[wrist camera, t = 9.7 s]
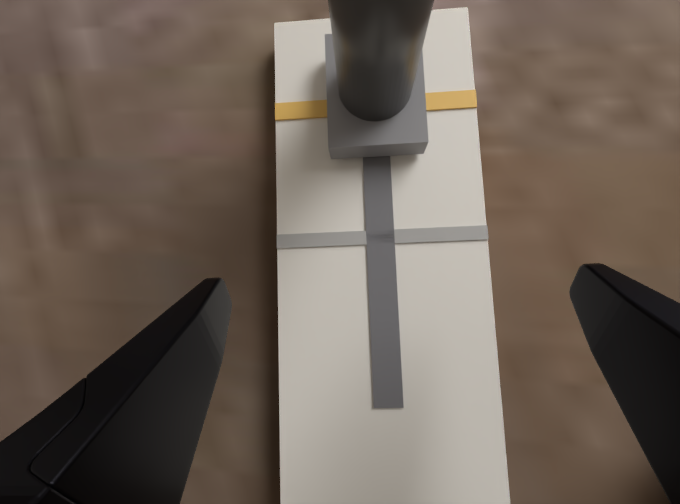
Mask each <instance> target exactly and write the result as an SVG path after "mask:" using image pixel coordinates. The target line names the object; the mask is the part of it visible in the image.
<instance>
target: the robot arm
mask: <svg viewBox="0 0 680 504" xmlns="http://www.w3.org/2000/svg"><path fill="white" fill-rule="evenodd" d="M570 298H571V301H572V303H573V306H574V309H575V311H576V314H577V316H578V319H579V321H580V324H581V327H582V329H583V332H584V334H585V337H586V340H587V342H588V345H589V347H590V349H591V352H592V354H593V356H594V358H595V360H596V362H597V364H598V366H599V367H600V369H601V371H602V373H603V375H604V377H605V379H606V381H607V383H608V385H609V387H610V389H611V390H612V392H613V394H614V396H615V398H616V400H617V402H618V404H619V406H620V408H621V410H622V411H623V413H624V415H625V417H626V419H627V421H628V423H629V425H630V427H631V429H632V431H633V433H634V434H635V436H636V438H637V440H638V442H639V444H640V446H641V448H642V450H643V452H644V454H645V455H646V457H647V459H648V461H649V463H650V465H651V467H652V469H653V471H654V473H655V475H656V477H657V478H658V480H659V482H660V484H661V486H662V488H663V490H664V492H665V494H666V496H667V498H668V499H669V501H670V503H671V504H680V303H678V302H676V301H674V300H672V299H670V298H668V297H666V296H664V295H663V294H661V293H659V292H657V291H655V290H653V289H651V288H649V287H647V286H645V285H643V284H641V283H639V282H637V281H635V280H633V279H631V278H629V277H627V276H625V275H623V274H621V273H619V272H618V271H616V270H614V269H612V268H610V267H608V266H606V265H604V264H600V263H594V264H583V265H582V266H580V268H579V269H578V272H577V274H576V276H575V278H574V280H573V283H572V285H571V287H570ZM231 308H232V302H231V298H230V295H229V293H228V290H227V287H226V285H225V282H224V280H223V279H222V278H207V279H205V280H203V281H202V282H201V283H200V284H198V285H197V286H196V287H195V288H193V289H192V290H191V291H190V292H188V293H187V294H186V295H185V296H184V297H182V298H181V299H180V300H179V301H177V302H176V303H175V304H174V305H173V306H171V307H170V308H169V309H168V310H166V311H165V312H164V313H163V314H162V315H160V316H159V317H158V318H157V319H155V320H154V321H153V322H152V323H150V324H149V325H148V326H147V327H146V328H144V329H143V330H142V331H141V332H139V333H138V334H137V335H136V336H135V337H133V338H132V339H131V340H130V341H128V342H127V343H126V344H125V345H124V346H122V347H121V348H120V349H119V350H117V351H116V352H115V353H114V354H112V355H111V356H110V357H109V358H108V359H106V360H105V361H104V362H103V363H101V364H100V365H99V366H98V367H97V368H95V369H94V370H93V371H92V372H90V373H89V374H88V375H87V377H86V378H83V379H82V380H80V381H79V382H78V383H77V384H76V385H74V386H73V387H72V388H71V389H69V390H68V391H67V392H66V393H64V394H63V395H62V396H61V397H59V398H58V399H57V400H56V401H54V402H53V403H52V404H50V405H49V406H48V407H47V408H45V409H44V410H43V411H42V412H40V413H39V414H38V415H36V416H35V417H33V418H32V419H31V420H29V421H28V422H27V423H25V424H24V425H23V426H21V427H20V428H19V429H17V430H16V431H15V432H13V433H12V434H11V435H9V436H8V437H6V438H5V439H4V440H2V441H1V442H0V504H180V501H181V498H182V494H183V491H184V488H185V484H186V481H187V477H188V474H189V471H190V467H191V464H192V461H193V457H194V454H195V451H196V447H197V444H198V441H199V437H200V434H201V431H202V427H203V424H204V420H205V417H206V414H207V410H208V407H209V404H210V400H211V397H212V394H213V390H214V387H215V384H216V380H217V377H218V373H219V370H220V367H221V363H222V359H223V354H224V348H225V343H226V337H227V331H228V326H229V320H230V314H231Z"/></svg>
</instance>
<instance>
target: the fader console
mask: <svg viewBox="0 0 680 504" xmlns="http://www.w3.org/2000/svg"><path fill="white" fill-rule="evenodd" d="M274 31H275V121H276V189H277V267H278V346H279V425H280V504H510V494H509V483H508V471H507V459H506V448H505V436H504V424H503V413H502V401H501V389H500V378H499V366H498V354H497V343H496V331H495V319H494V308H493V296H492V285H491V273H490V261H489V250H488V228H487V225H486V215H485V203H484V191H483V180H482V168H481V156H480V145H479V133H478V121H477V110H476V108H477V100H476V90H475V86H474V75H473V63H472V51H471V40H470V28H469V16H468V7H464V8H452V9H439V10H432V11H431V15H430V19H429V23H428V27H427V31H426V35H425V39H424V44H423V48H422V52H423V67H424V81H425V96H426V111H427V126H428V141H429V142H428V144H427V147H426V149H425V151H424V154H413V155H396V156H378V157H361V158H344V159H331V157H330V153H329V149H328V124H327V92H326V60H325V34H332V30H331V22H330V18H329V19H317V20H305V21H293V22H280V23H274Z"/></svg>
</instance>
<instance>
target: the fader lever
mask: <svg viewBox="0 0 680 504" xmlns="http://www.w3.org/2000/svg"><path fill="white" fill-rule="evenodd" d="M433 3H434V0H328V5H329V13H330V22H331V30H332V34H325V60H326V92H327V124H328V149H329V153H330V157H331V159H344V158H361V157H378V156H396V155H413V154H424V151H425V149H426V147H427V144H428V142H429V141H428V126H427V111H426V96H425V81H424V67H423V52H422V48H423V44H424V39H425V35H426V31H427V27H428V23H429V19H430V15H431V11H432V7H433Z"/></svg>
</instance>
